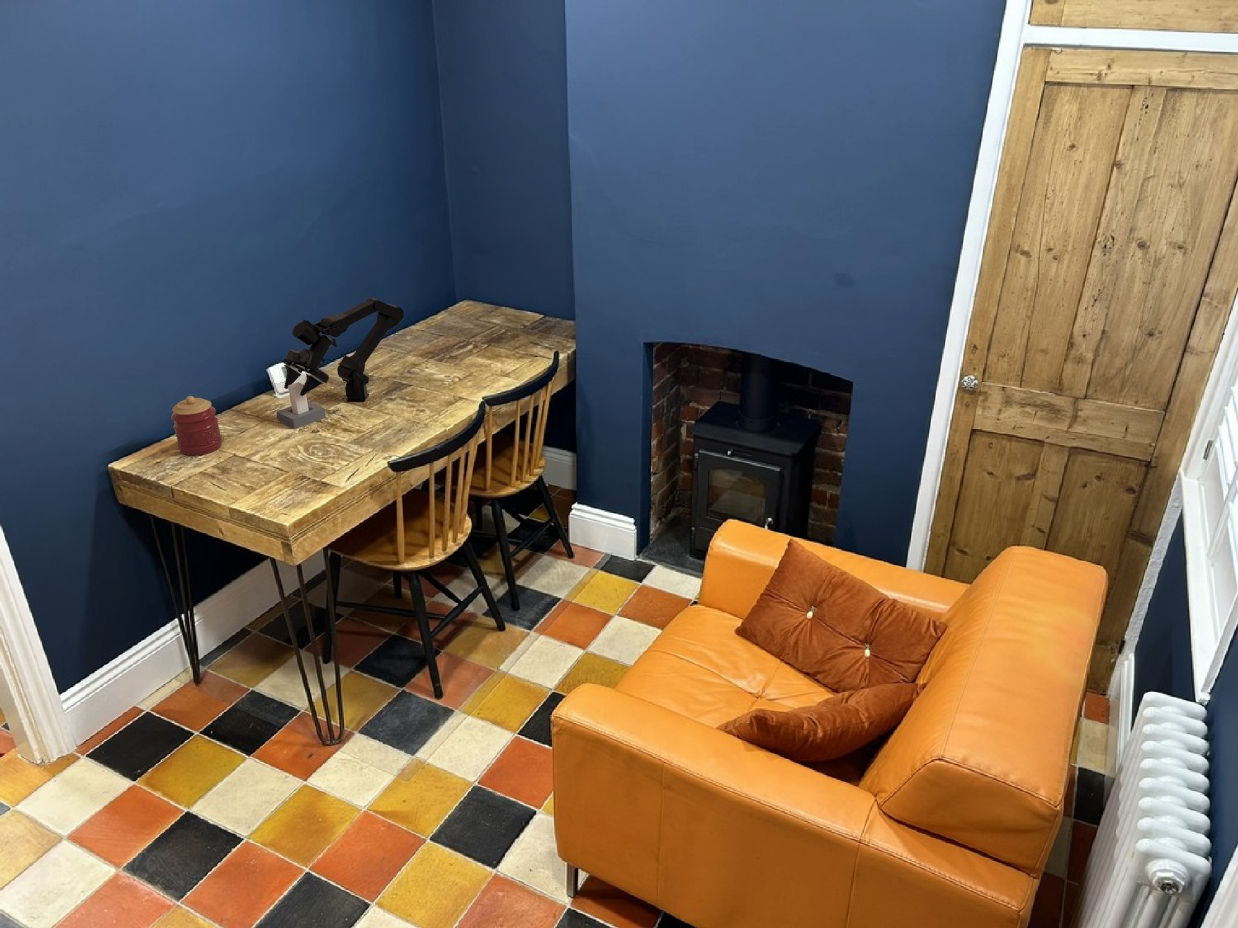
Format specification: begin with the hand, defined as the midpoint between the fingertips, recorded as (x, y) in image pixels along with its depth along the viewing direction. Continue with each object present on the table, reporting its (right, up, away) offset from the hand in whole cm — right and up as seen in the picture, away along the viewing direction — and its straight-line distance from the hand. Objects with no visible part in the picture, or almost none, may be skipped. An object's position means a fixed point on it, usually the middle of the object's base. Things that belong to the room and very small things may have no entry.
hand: (293, 392), depth 312 cm
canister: (-25, -19, -13) cm, 34 cm away
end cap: (+1, -9, +6) cm, 11 cm away
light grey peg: (+1, -9, +6) cm, 11 cm away
